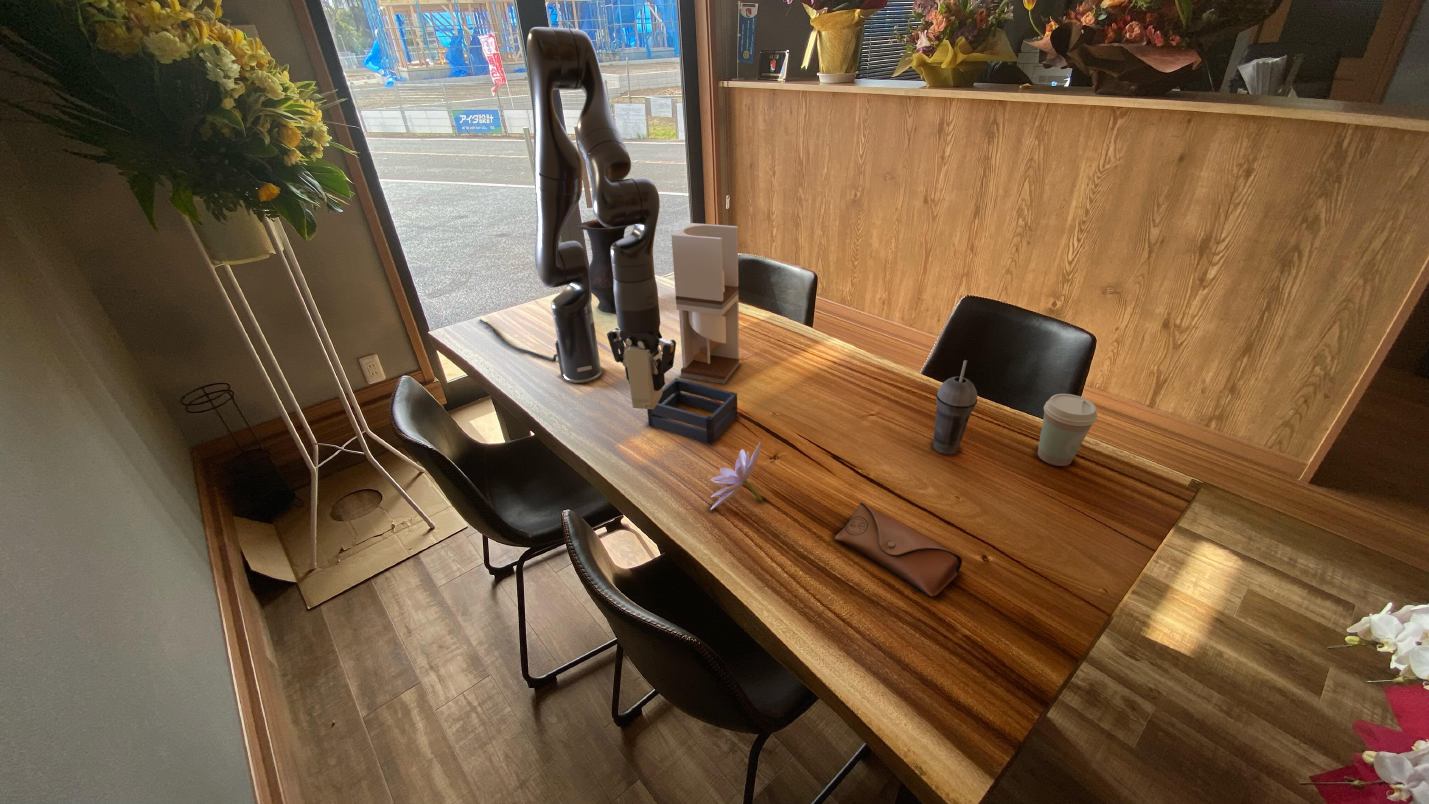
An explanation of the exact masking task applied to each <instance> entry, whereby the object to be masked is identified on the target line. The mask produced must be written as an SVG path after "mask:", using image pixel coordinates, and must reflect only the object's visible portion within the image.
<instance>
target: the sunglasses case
mask: <svg viewBox="0 0 1429 804" xmlns="http://www.w3.org/2000/svg"><path fill="white" fill-rule="evenodd" d="M834 540H835V541H837V542H839V543H841V544H842V545H843V544H844V545H845V546H847V547H850V548H851V549H854V550H855V551H856V552H858V553H860V554H862V555H864V557H867V558H869V559H870V560H872V561H874V562H875V563H877V564H878V565H879V566H882V567H883V568H885V569H886V570H888V571H889V572H891V573H892V574H894V575H896V576H897V577H898V578H900V579H902V580H904V581H905V582H907V583H908V584H910V585H912V586H913V587H914V588H915V589H917V590H919V591H921V592H922V593H924V594H926V595H927V596H929V597H930V598H933V597H937V596H938V595H939V594H940V593H942V592H943V591H944V590H945V588H947V586H949V584H950V583H952V582H953V580H954V579H955V578H956V577H957V576H958V574H959V572H960V569H961V567H962V565H963V558H962V557H961V556H960V554H958V553H956V552H954V551H952V550H949V549H947V548H946V547H944V546H942V545H941V544H939V543H937V542H935V541H934V540H932V539H930V538H928V537H926V536H925V535H923V534H922V533H919V532H917V531H916V530H914V529H912V528H910V527H908V526H907V525H905V524H903V523H901V522H899V521H898V520H895V519H893V517H890V516H888V515H886V514H884V513H882V512H880V511H878V510H875V508H872V507H870V506H868V505H867V504H865V503H863V502H860V503H859V505H858V506H857V508H856V509H855V511H854V513H853V514H852V516H851V517H850V518H849V520H848V521H847V522H846V524H845V525H844V527H843V528H842V530H840V531H839V532H838V533H837V534H835V536H834Z"/></svg>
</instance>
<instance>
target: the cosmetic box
mask: <svg viewBox="0 0 1429 804" xmlns="http://www.w3.org/2000/svg"><path fill="white" fill-rule="evenodd" d="M625 351H626V359H627V367H628V375H629V382H628V384H629V383H630V384H629V390H630V398H631V404H632V409H642V410H647V409H654V408H655V406H656V405H657V403H658V401H659V400H660V398H661V396H662V389H663V388H662V389H660V390H659V391H655V390H654V385H653V376H652V374H653V372H652V369H651V363H650V360H649V355H650V354H651V353H650V349H647V350H642V349H639V346H634V345H633V346H632V347H627V349H626V350H625ZM654 353H655V352H654ZM654 353H653V354H651V357H653V356H654ZM656 364H657V362H656ZM657 366H658V365H657Z"/></svg>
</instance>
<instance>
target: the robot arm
mask: <svg viewBox="0 0 1429 804" xmlns="http://www.w3.org/2000/svg"><path fill="white" fill-rule="evenodd" d="M526 61H527V71H528V79H529V80H528V83H529V89H530V99H531V111H532V120H533V121H532V123H533V150H534V151H533V160H534V161H533V169H534V171H533V172H534V189H535V190H534V191H535V205H536V230H535V245H534V247H535V248H534V264H535V271H536V274H537V277H538V279H539V281H540V283H541V284H542V286H544V287H546V288H547V289H554V288H555V289H556V288H559V287H564V286H566V287H565V288H564V289H563V290H562V292H560V293H559V294H558V295H556V296H555V297H554V298H553V299H552V300H551V301H550V309H551V314H552V318H553V323H554V329H555V334H556V340H555V342H554V345H555V350H556V353H555V354H553V357H547V356H544V355H541V354H539V353H537V352H534V351H531V350H527V349H523V348H520V347H517V346H514V345H513V344H510V343H508V341H505V339H503V338H502V337H501V336H499V335H498V333H497V332H496V330H495V329H494V328H493V327H492V326H491V325H489V324H488V323H487V322H485V321H484V320H482V319H479V320H478V321H479V322H480V323H481V324H483V325H484V326H485V327H486V328H488V329H489V330H490V331H491V332H492V334H493V336H495V337H496V339H498V340H499V341H500V342H501V344H503V345H505V346H507V347H509V348H510V349H513V350H515V351H518V352H522V353H526V354H529V355H532V356H534V357H537V358H540V359H543V360H547V361H550V362H555V361H556V360H557V361H558V362H557V363H558V366H559V371H560V376H561V377H563V378H564V380H565V381H567V382H568V383H572V384H586V383H590V382H593V381H595V380H597V379H598V378H600V377H601V376H602V373H603V371H602V366H601V359H600V353H599V346H598V339H597V333H596V327H595V319H594V314H593V313H594V312H593V306H592V300H593V298H592V297H593V294H592V293H591V285H590V273H589V266H590V263H589V260H588V255H587V252H586V250H585V249H584V246H583V245H582V244H581V243H580V242H579V241H577V240H567V241H562V242H560V240H561V239H560V238H561V235H562V233H563V230H564V228H565V226H566V225H567V223H568V221H569V220H570V218H571V216H572V215H573V213H574V211H576V208H577V206H578V204H579V203H580V200H581V197H582V193H583V174H584V173H583V172H584V171H583V170H584V169H583V168H584V167H583V166H584V165H583V160H584V163H585V165H586V167H587V170H588V175H589V178H590V183H591V184H590V185H591V197H592V199H591V200H592V210H593V214H594V217H595V220H596V219H597V220H598V221H599V223H601V224H602V225H603V226H604V227H607V228H620V227H626V226H628V227H631V226H633V229H632V231H631V233H630V234H628V235H627V236H624V238H623V239H621V240H618V241H616V242H615V243H613V244H612V246H611V248H610V255H611V263H612V271H613V280H614V286H613V289H614V299H615V306H616V313H615V314H616V322H617V327H615V328H614V329H611V330H610V331H608V332H607V333H606V336H607V337H606V338H607V339H608V343H609V346H610V350H611V352H612V355H613V358H614V361H615V362H616V363H621V364H622V366H623V367H624V370H625V378H626V380H627V382H628V384H629V385H630V383H629V375H628V367H627V359H626V351H625V350H626V349H627V347H632V346H633V345H634V346H639V349H642V350H647V349H650V353H651V354H653V353H654V352H655V353H654V356H653V357H651V354H650V355H649V360H650V363H651V369H652V372H653V374H652V376H653V385H654V390H655V391H659V390H660V389H663V388H664V387H665V385H666V381H665V374H666V373H667V372H668V371H670V370H671V369H673V367H674V362H675V356H676V348H677V341H676V340H675V339H670V340H668V339H665V338H663V335H662V334H661V332H660V326H661V314H660V303H659V291H658V283H657V280H656V275H655V264H654V263H655V262H654V244H655V237H656V230H657V225H658V220H659V214H660V208H661V204H660V203H661V201H660V195H659V191H658V189H657V187H656V186H655V184H654V183H653V182H652V180H650V179H649V178H647V177H644V176H643V177H632V178H626V177H627V176H628V175H629V174H630V172H631V169H632V160H631V157H630V155H629V152H628V150H627V146H626V145H625V143H624V141H623V138H622V136H621V134H620V131H619V128H618V127H617V124H616V122H615V118H614V115H613V113H612V109H611V105H610V101H609V96H608V92H607V88H606V85H605V80H604V77H603V74H602V69H601V65H600V62H599V57H598V55H597V51H596V49H595V46H594V43H593V41H592V39H591V38H590V37H589V35H588V34H587V32H585V31H584V30H581V29H578V28H568V27H553V26H552V27H549V26H548V27H547V26H535V27H532V28H531V29H530V30H529V32H528V35H527V40H526ZM556 90H561V91H562V90H564V91H565V90H566V91H569V90H570V91H580V90H582V92H583V93H584V96H585V99H584V103H583V106H582V109H581V111H580V114H579V117H578V119H577V123H576V141H577V145H578V148H579V150H578V149H577V147H576V145H575V143H574V142H573V139H571V137H570V136H569V134H568V133H567V130H565V128H564V126H563V124H562V123H561V120H560V119H559V117H558V114H557V113H556V109H555V105H554V99H553V92H554V91H556ZM579 151H580V152H579ZM580 153H581V155H582V156H581V155H580ZM582 158H583V160H582ZM634 225H635V226H634ZM656 362H657V364H656ZM657 365H658V366H657Z"/></svg>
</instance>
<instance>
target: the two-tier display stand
mask: <svg viewBox="0 0 1429 804" xmlns="http://www.w3.org/2000/svg"><path fill="white" fill-rule="evenodd" d="M738 229H739V226H737V225H725V224H710V223H695V222H691V223H689V224H687V225H685V226H684V227H683V228H681V229H679V230H677V231H676V232H674V233H672V234H671V235H670V236H671V248H672V249H671V250H672V263H673V279H674V290H675V292H674V293H675V304H676V305H675V306H676V307H675V308H676V310H677V311H678V316H679V317H678V318H679V319H678V320H679V329H680V331H679V332H680V333H679V334H680V346H681V363H682V367H681V369H680V377H682V378H686V379H693V380H699V381H704V382H710V383H716V384H722V385H724V384H726V382H727V381H728V380H729V378H730V377H731V376H732V374H733V373H734V372H735V371H736V370H737V368H738V367H739V366H740V323H739V317H740V316H739V313H740V312H739V306H740V305H739V235H738V234H739V230H738Z"/></svg>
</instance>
